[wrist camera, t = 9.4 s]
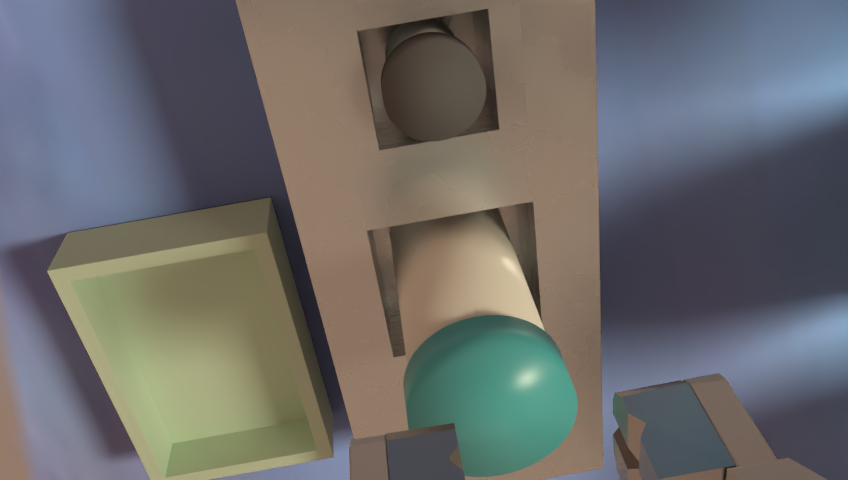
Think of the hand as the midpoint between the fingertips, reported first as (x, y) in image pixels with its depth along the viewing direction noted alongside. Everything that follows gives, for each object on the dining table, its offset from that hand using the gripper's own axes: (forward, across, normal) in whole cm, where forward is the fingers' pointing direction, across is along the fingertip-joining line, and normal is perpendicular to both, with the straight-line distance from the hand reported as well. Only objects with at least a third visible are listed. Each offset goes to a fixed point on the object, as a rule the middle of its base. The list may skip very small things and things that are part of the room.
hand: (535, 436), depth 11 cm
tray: (+19, +10, +12) cm, 25 cm away
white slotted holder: (+19, 0, +8) cm, 21 cm away
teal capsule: (+18, 0, +8) cm, 19 cm away
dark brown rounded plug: (+17, 0, 0) cm, 17 cm away
